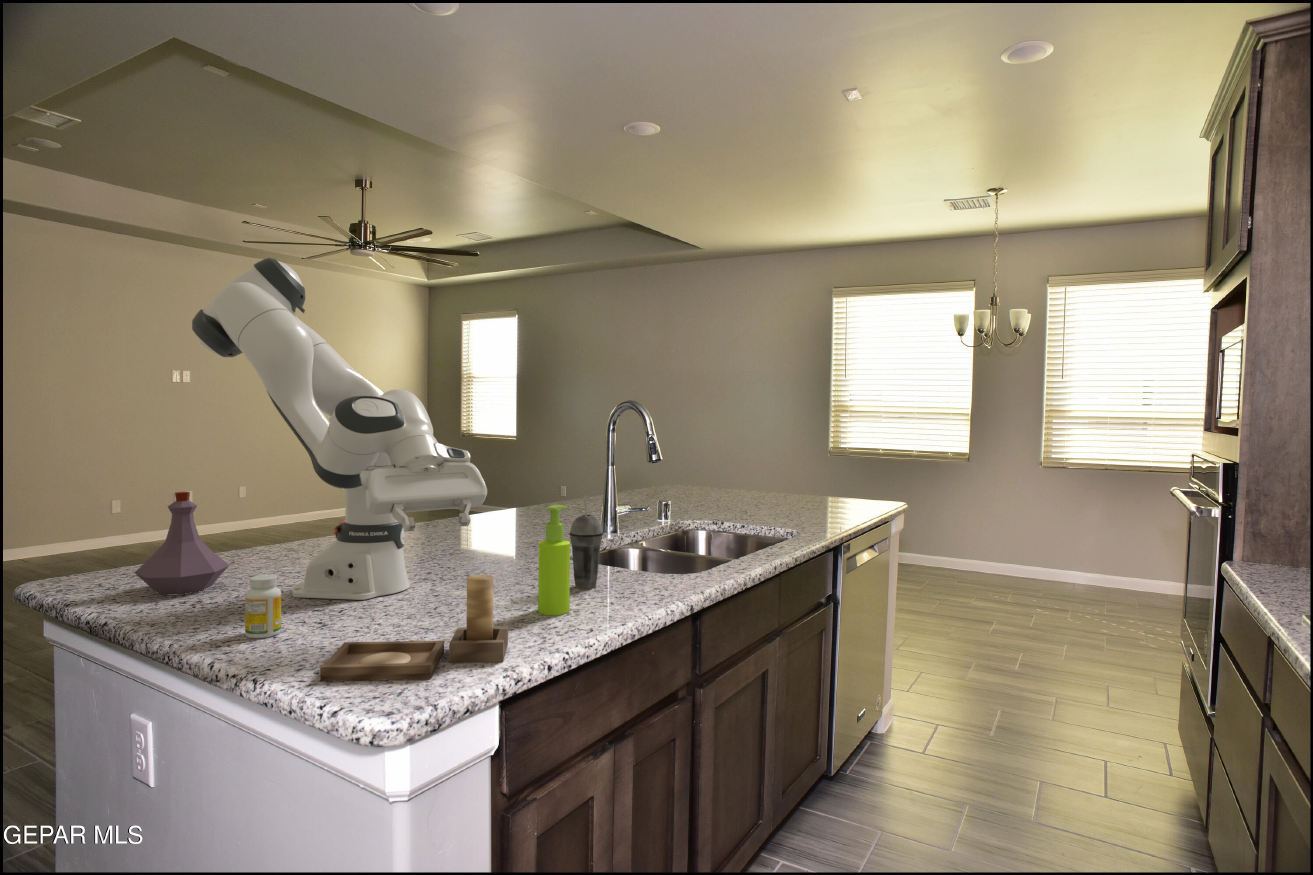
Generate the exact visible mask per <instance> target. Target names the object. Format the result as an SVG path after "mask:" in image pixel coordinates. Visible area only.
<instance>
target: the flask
mask: <svg viewBox="0 0 1313 875" xmlns="http://www.w3.org/2000/svg"><path fill="white" fill-rule="evenodd" d="M190 494H191V493H190V491H176V492H174V495H175V501H174V502H172V503H171V504H169V505H167V508H168V510H169V512H170V514H171V522H170V525H169V528H168V532H167V535H166V538H165V541H164V542H163V543H162V545H161V546H159V548H158V549H157V550H156V551H155V553H153V555H151V556H150V558H148V559H146V561H145V562H144V563H143V564H142V565H140V567H139V568H137V570H135V572H134V574H135V575H136V576H137V577H138V578H140V580H142V582H144V583H145V584H146V585H147V586H148V587H149V588H151V589H152V590H153V591H154V592H155V591H156V592H155V593H157V592H158V593H157V594H159V593H160V595H161V594H184V595H186V594H185V593H190V592H196V591H202V590H204V589H206V588H208V587H210V586H211V587H212V586H213V585H214V583H215V582H217V580H218V579H219V577H221V576H222V574H223V573H224V572H226V570H227V569H228V568H229V567H230V564H229V563H227V561H225V560H224V559H223V558H221V557H220V556H219V555H218V554H216V553H215V552H214V551H213V550H212V549H211V548H209V546H208V545H206V543H205V542H203V540H202V539H201V537H200V534H199V532H198V529H197V527H196V523H195V518H194V512H195V510H196V508H197V506H198V505H197V504H196V503H194V502H192V501H191V500H190ZM211 587H210V588H211ZM208 589H209V588H208ZM206 590H207V589H206ZM204 591H205V590H204ZM202 592H203V591H202ZM196 593H197V592H196ZM190 594H191V593H190Z"/></svg>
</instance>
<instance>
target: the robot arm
mask: <svg viewBox="0 0 1313 875" xmlns="http://www.w3.org/2000/svg"><path fill="white" fill-rule="evenodd" d="M305 301H306V288H305V287H304V285H303V282H302V280H301V278H300V276H299V275H298V273H297V272H296V271H295V270H294V269H293V268H292V267H291V266H289V265H288V264H286V263H285V262H281V261H279V260H277V259H276V258H271V257H267V258H263V259H262V260H260V261H258V262H256V263H254V264H253V266H252V267H250V268H249V269H247V270H246V271H245V272H243V273H241V274H240V275H238V276H237V277H236V278H234V279H233V280H232V281H230V282H229V283H228V284H226V286H224V288H223V289H221V291H220V292H219V293H218V294H216V295H215V296H214V297H213V298H212V299H211V300H210V301H209V302H208V304H207V305H206V306H205V307H204V308H202V309H199V310H198V312H197V313H196V314H195V316H194V317H193V319H192V321H191V329H192V331H193V332H194V335H195V336H196V339H197V340H198V341H199V343H200V344H201V345H202V346H203V347H204V348H205V349H207V350H208V351H210V352H212V353H213V354H216V355H219V356H220V357H223V358H234V357H237V356H238V355H241V354H243V355H244V356H245V358H246V359H247V360H248V362H250V364H251V366H252V367H253V368H254V370H255V371H256V373H257V375H258V376H259V378H260V380H261V382H262V384H263V385H264V388H265V389H266V392H267V394H268V396H269V398H270V400H271V403H272V404H273V406H274V407H275V409H276V411H277V412H278V413H279V415H280V416H281V417H282V419H283V420H284V422H285V423H286V424H287V426H288V427H289V428H290V430H291V431H292V433H293V434H294V435H295V436H296V438H297V439H298V440H299V442H300V443H301V445H302V446H303V449H305V450H306V452H307V454H308V455H309V458H310V462H311V465H312V467H313V470H314V472H315V474H316V475H317V476H318V477H319V479H320V480H322V481H323V482H324V483H325V484H327V485H329V486H331V487H334V488H337V489H344V492H345V493H344V499H345V500H344V501H345V502H344V504H345V508H344V509H345V510H344V511H345V512H344V513H345V514H344V515H345V520H342V521H340V522H339V523H338V525H336V526H335V527H334V528H333V530H334V531H333V535H335V539H336V540H335V541H333V542H332V543H331V544H330V545H327V547H325V548H324V549H322V550H321V551H320V552H318V553H317V555H315V556H314V557H313V558H311V559H310V561H309V562H308V564H307V566H306V568H305V573H304V581H303V580H302V581H300V582H299V583H297V584H296V585H294V586H293V588H292V589H291V590H292V591H291V595H292V596H293V598H306V599H309V598H311V599H328V600H329V599H331V600H332V599H335V600H357V601H361V600H362V601H363V600H369V599H373V598H376V597H382V596H386V595H387V596H388V595H393V594H396V593H399V592H403V591H405V590H407V589H409V588H410V587H411V584H410V583H411V582H410V580H409V576H408V573H407V572H408V571H407V569H406V562H405V554H404V547H405V542H406V541H405V540H406V533H408V532H413V531H415V529H416V522H415V518H414V517H413V516H408V515H407V514H406V513H414V512H426V511H428V512H429V511H437V510H438V511H439V510H440V511H441V510H449V509H450V510H452V509H459V511H460V513H459V515H458V517H457V522H458V525H459V527H468V526H470V524H471V517H470V514H469V513H470V510H471V508H475V507H480V506H481V507H482V505H483V504H484V502H485V500H486V497H487V495H488V488H487V485H486V482H485V479H484V478H483V476H482V474H481V472H480V470H479V469H478V468H477V466H476V465H474V463H472V462H471V453H470V452H469V451H468V450H466V449H465V450H464V449H461V448H456V447H451V446H448V445H445V444H442V443H439V442H438V440H437V439H436V437H435V436H434V426H433V424H432V422H431V418H430V416H429V413H428V411H427V410H426V407H425V405H424V404H423V402H422V401H421V400H420V398H418V396H417V395H415V394H414V393H413V392H412V391H409V390H406V389H400V388H399V389H397V388H396V389H391V390H387V391H385V392H384V391H382V389H380V388H379V387H377V386H376V385H374V384H373V383H372V382H371V381H369V380H368V379H366V378H365V377H364V376H362V375H361V374H360V373H359V372H358V371H357V370H355V368H353V367H352V366H351V365H350V364H349V362H348V361H347V360H345V359H344V357H342V356H341V355H340V353H338V352H337V351H336V350H335V348H333V347H332V345H330V343H329V342H328V341H326V340H325V339H324V338H323V337H322V336H321V335H320V334H319V333H318V332H317V331H315V330H314V329H312V328H311V327H310V326H309V325H307V324H306V323H304V322H303V321H302V320H301V319H300V318H299V317H298V316H297V315H296V310H297V309H298V310H299V311H300V312H301V313H302V314H305V313H306V310H305V308H304V304H305ZM324 413H325V414H324ZM325 415H327V416H329V417H330V418H329V419H328V417H326V416H325Z"/></svg>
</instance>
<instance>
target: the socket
mask: <svg viewBox="0 0 1313 875" xmlns="http://www.w3.org/2000/svg"><path fill="white" fill-rule="evenodd" d="M448 643H449V644H448V649H449V650H448V653H449V654H448V659H449V660H448V663H449V664H459V663H465V664H466V663H504V660H505V657H506V653H507V651H508V650H507V649H508V647H509V626H493V640H467V626H463V627H459V626H458V627H456V630H455V631H454V634H453V636H452V637H451V639H450V641H449V642H448Z"/></svg>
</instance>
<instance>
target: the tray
mask: <svg viewBox="0 0 1313 875" xmlns="http://www.w3.org/2000/svg"><path fill="white" fill-rule="evenodd" d="M444 655H445V640H408V641H407V640H404V641H403V640H402V641H401V640H399V641H398V640H397V641H396V640H394V641H389V640H388V641H345V642H343V643H342V644H341V645H340V646H339V647H338V649H337V650H335V652H333V654H331V655H330V656H329V657H328V659H326V661H324V663H323V664H321V665H320V667H319V682H322V683H323V682H358V681H359V682H362V681H399V680H400V681H402V680H406V681H408V680H411V681H412V680H431V679H432V677H433V675H434V673H435V672H436V669H437V668H438V666H439V663H440V662H441V660H442V658H443V657H444Z"/></svg>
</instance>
